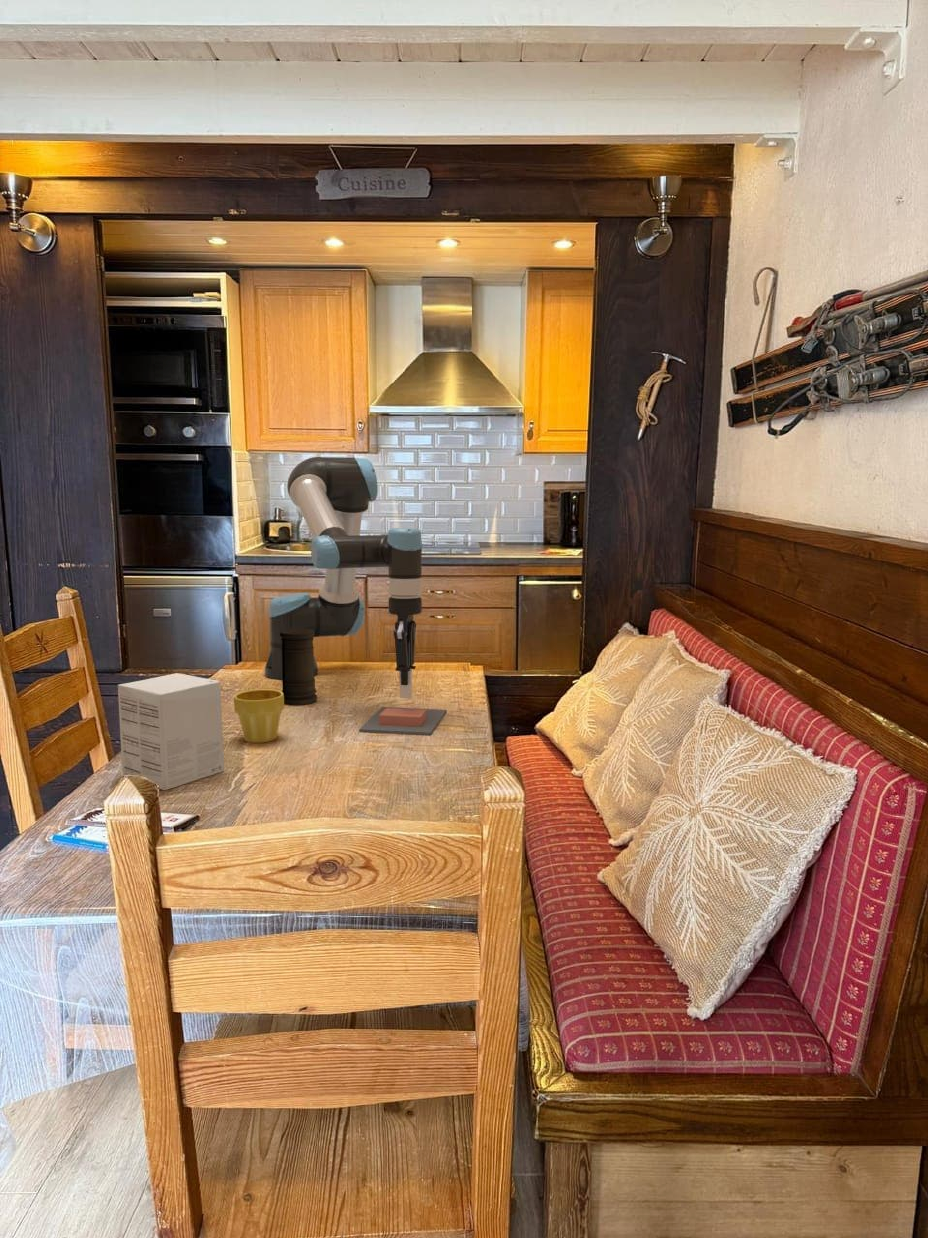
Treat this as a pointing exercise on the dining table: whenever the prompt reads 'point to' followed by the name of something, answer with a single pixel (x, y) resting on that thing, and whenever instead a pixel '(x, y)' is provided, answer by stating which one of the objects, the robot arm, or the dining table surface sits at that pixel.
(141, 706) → the supplement box
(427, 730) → the mat
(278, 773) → the dining table surface
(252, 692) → the plant pot
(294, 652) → the container
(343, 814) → the dining table surface
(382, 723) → the card box
